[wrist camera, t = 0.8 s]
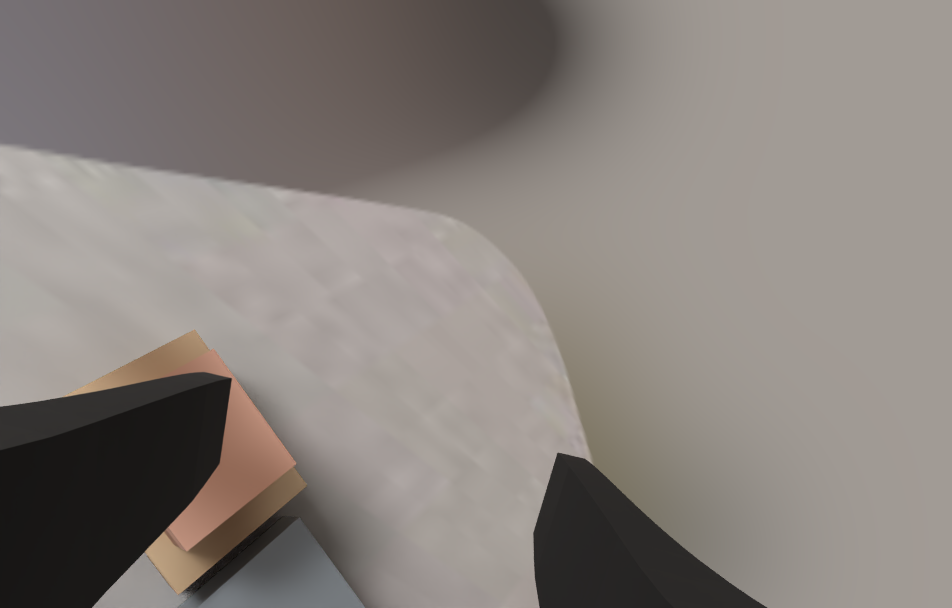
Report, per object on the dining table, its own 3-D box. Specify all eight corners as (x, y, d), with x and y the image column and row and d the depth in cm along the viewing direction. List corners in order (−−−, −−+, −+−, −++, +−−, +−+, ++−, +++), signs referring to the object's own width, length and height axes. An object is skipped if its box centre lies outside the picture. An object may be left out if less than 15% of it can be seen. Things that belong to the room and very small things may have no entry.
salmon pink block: (173, 544, 18) (186, 551, 15) (88, 431, 17) (85, 418, 15) (271, 469, 20) (296, 463, 18) (198, 369, 20) (213, 348, 17)
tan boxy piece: (167, 583, 20) (178, 595, 17) (45, 423, 19) (36, 410, 17) (284, 487, 24) (307, 485, 21) (183, 349, 23) (194, 329, 20)
